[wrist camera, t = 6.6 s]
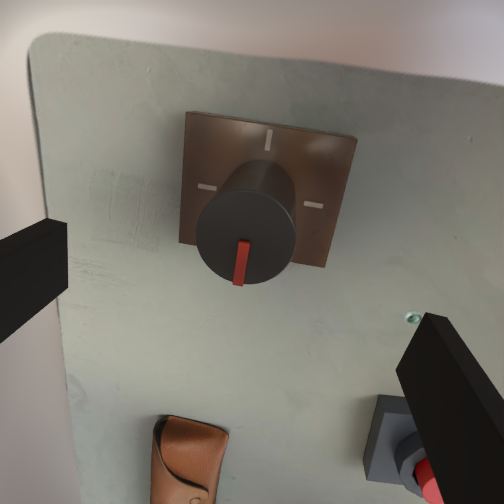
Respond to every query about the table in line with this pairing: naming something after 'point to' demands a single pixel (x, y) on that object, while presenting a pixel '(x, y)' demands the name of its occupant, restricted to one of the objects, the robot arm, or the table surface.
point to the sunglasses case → (186, 461)
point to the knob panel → (276, 151)
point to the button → (428, 482)
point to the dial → (249, 224)
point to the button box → (393, 445)
